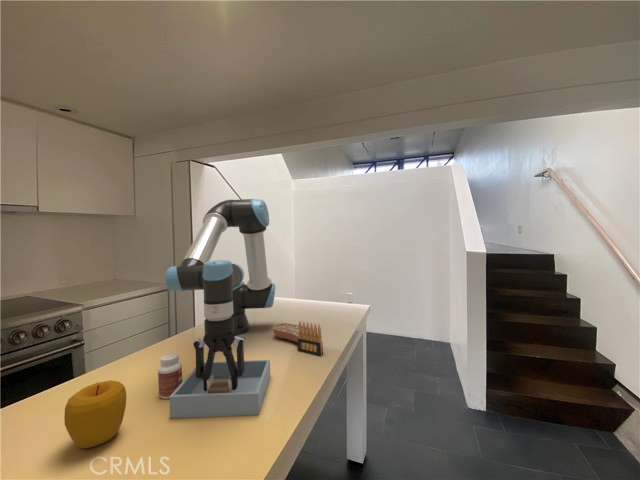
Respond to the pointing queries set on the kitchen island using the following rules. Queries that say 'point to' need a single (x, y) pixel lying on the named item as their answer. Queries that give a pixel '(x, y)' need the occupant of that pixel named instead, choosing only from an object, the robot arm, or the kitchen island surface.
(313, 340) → the ammunition clip
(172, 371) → the pill bottle
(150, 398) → the kitchen island surface
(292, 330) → the anatomical model
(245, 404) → the tote
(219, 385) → the walnut cube
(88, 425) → the apple
